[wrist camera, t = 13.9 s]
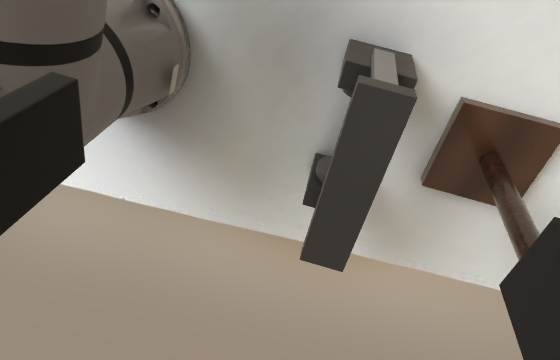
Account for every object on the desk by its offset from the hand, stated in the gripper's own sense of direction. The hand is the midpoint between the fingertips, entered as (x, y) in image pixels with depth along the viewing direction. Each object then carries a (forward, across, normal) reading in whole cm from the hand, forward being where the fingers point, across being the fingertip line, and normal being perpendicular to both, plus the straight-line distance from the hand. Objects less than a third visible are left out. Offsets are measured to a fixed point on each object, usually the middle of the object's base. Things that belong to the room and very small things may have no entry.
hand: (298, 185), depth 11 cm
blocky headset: (+31, +4, -11) cm, 33 cm away
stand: (+31, +18, -11) cm, 37 cm away
